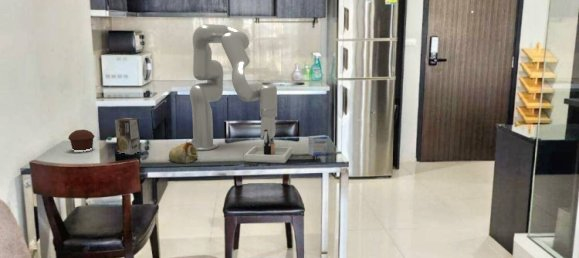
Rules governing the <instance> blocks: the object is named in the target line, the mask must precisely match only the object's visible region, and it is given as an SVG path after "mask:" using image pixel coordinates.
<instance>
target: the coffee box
mask: <svg viewBox="0 0 579 258" xmlns="http://www.w3.org/2000/svg"><path fill="white" fill-rule="evenodd" d="M114 124H115V139H116V153H117V152H119V153H118V154H121V153H125V154H124V155H135V153H136V154H138V153H137V152H140V153H141V140H140V139H141V138H140V136H141V135H140V120H139V118H135V117H134V118H132V117H121V118H118V119H114Z"/></svg>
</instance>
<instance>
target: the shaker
mask: <svg viewBox="0 0 579 258" xmlns="http://www.w3.org/2000/svg"><path fill="white" fill-rule="evenodd" d="M267 141H269V140H267ZM275 144H276V143H275V140H274V141H273V140H271V141H270V146H271V155H274V154H275V147H276V145H275ZM264 155H265V154H264Z"/></svg>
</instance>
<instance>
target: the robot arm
mask: <svg viewBox="0 0 579 258" xmlns="http://www.w3.org/2000/svg"><path fill="white" fill-rule="evenodd" d="M210 44H221V47H222V49H223V50H224V52H225V54H226V56H227V58H228V61H229V63H230V65H231V67H232V71H231V82H232V86H233V88H234V92H236V95H237V97H238V98H239V99H240V100H241V101H242V102H245V103H246V102H247V103H250V102H255V101H256V102H257V101H259V116H260V118H261V119H260V136H259V137H260V139H262V140H263V146H264V154H265V155H271V146H270V141H271V140H273V141H274V142H275V139H274V137H275V135H276V117H278V87H277V86H276V85H274V84H263V83H248V80H247V79H246V76H245V68H246V67H247V66H249V64H250V57H249V55H248V54H247V52H246V50H247V48H248V47H249V44H250V40H249V37H248V35H247V34H246V33H245V32H243V31H241V30H238V29H235V28H233V27H232V26H231V27H230V26H228V25H225V24H224V25H223V24H202V25H200V26H198V27H196V29H195V30H194V32H193V35H192V45H193V57H192V58H193V63H192V68H193V69H192V71H193V77H194V79H195V80H198V81H206V82H200V83H196V84H194V85H193V86H191V87H190V90H189V99H190V102H191V103H190V104H191V111H192V112H191V113H192V115H191V116H192V134H193V135H192V137H193V138H191V139H190V138H186V139H185V143H191V144H192V145H193V146H194V147H195V148H196V150H197V151H210V150H211V151H212V150H214V149H216V148H217V144H216V143H214V127H213V123H214V122H213V109H212V107H211V104H210V103H212V102H217V101H219V100H220V99H221V97H222V96H223V94H224V93H223V91H224V67H223V65H222V64H221V62H220V61H218V60H216V59H212V58H213V57H212V54H213V53H212V52H213V51H212V48H211V46H210ZM267 140H269V141H267Z"/></svg>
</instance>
